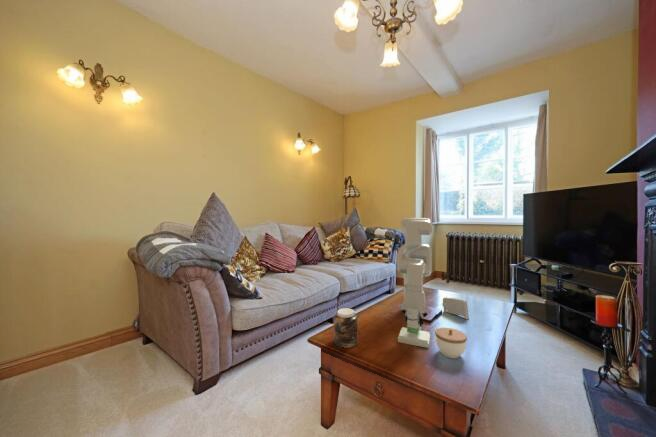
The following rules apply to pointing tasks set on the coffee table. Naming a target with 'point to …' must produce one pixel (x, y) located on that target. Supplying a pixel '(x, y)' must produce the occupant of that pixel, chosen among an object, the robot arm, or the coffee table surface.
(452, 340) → the lidded bowl
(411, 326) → the ink box
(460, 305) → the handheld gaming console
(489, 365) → the coffee table surface
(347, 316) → the jar
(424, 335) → the stand
